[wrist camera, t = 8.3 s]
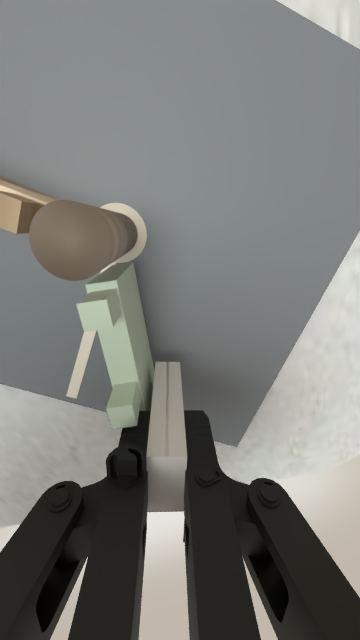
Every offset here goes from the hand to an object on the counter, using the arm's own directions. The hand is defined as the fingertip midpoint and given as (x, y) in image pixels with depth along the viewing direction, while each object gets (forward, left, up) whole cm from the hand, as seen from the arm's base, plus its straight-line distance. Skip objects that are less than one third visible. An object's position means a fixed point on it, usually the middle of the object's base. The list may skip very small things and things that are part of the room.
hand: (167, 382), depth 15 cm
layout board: (+7, +5, -3) cm, 9 cm away
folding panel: (+1, +2, -2) cm, 3 cm away
